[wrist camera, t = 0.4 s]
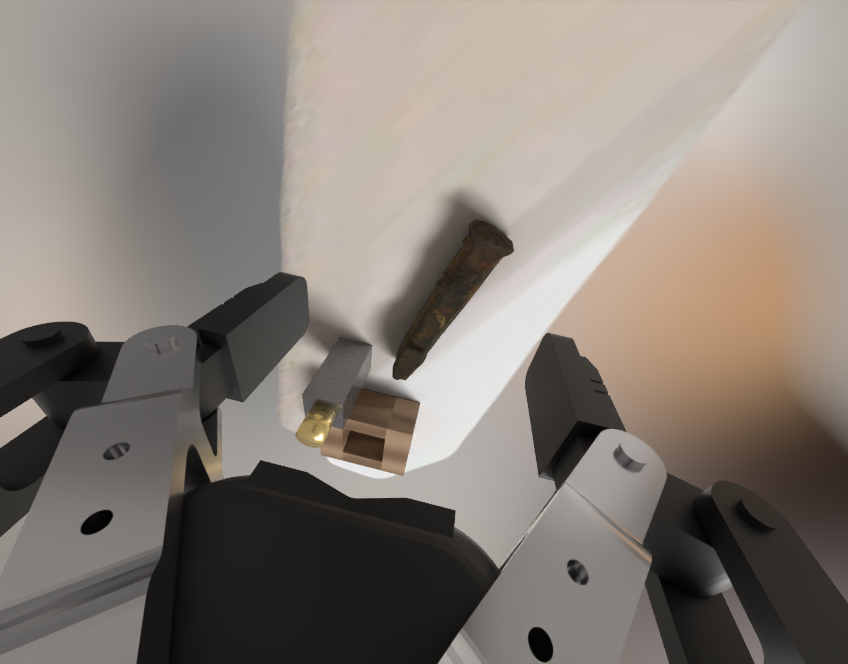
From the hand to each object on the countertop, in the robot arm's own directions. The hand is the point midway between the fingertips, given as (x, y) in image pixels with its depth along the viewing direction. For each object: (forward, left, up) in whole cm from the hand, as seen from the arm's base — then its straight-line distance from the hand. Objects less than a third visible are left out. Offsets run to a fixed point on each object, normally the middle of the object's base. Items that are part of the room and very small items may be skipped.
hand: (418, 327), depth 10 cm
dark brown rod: (+11, +1, -19) cm, 22 cm away
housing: (+31, -6, -18) cm, 36 cm away
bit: (+20, -9, -18) cm, 28 cm away
